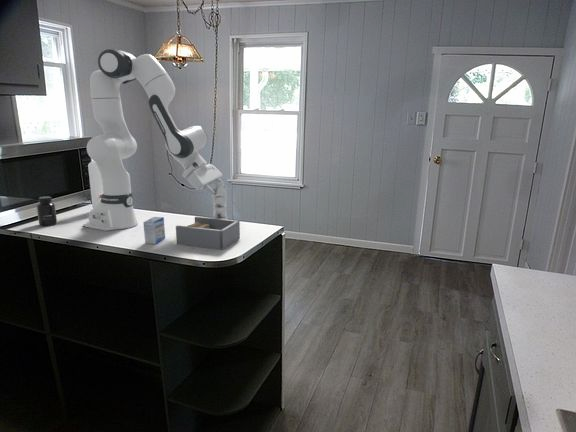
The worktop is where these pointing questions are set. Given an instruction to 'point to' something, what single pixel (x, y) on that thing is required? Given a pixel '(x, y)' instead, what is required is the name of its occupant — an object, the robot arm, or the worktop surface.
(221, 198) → the plastic bottle
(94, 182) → the bottle
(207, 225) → the upper offcut
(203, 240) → the open box
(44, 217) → the supplement bottle
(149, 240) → the medicine box
